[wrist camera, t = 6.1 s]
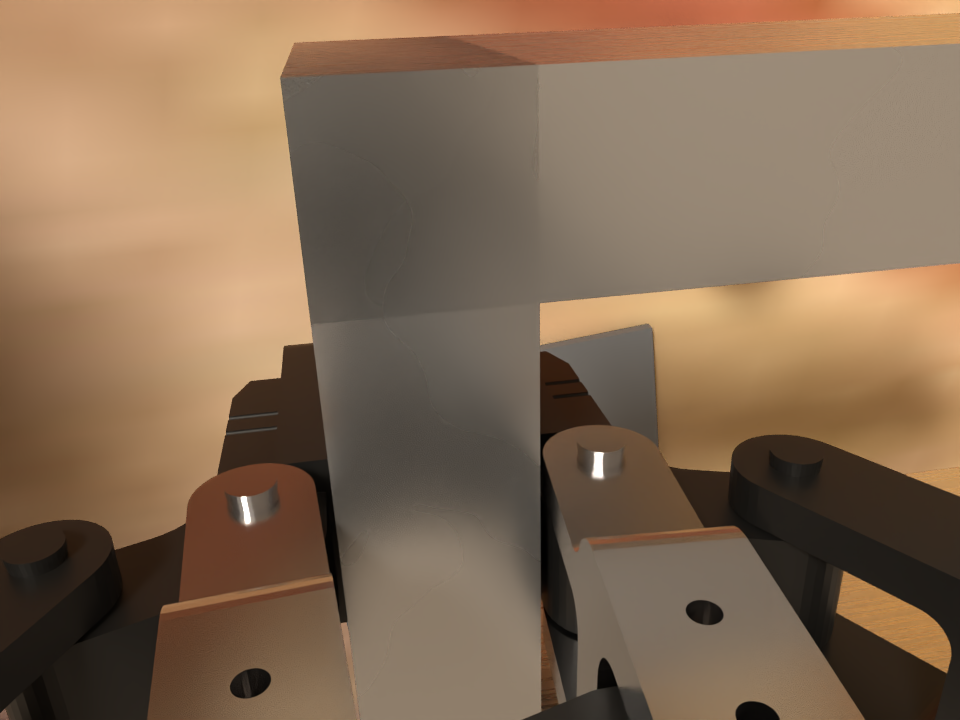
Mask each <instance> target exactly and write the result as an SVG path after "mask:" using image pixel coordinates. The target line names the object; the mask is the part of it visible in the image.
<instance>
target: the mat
mask: <svg viewBox="0 0 960 720" xmlns="http://www.w3.org/2000/svg"><path fill="white" fill-rule="evenodd" d="M543 351H547V352H549V353H551V354H552V355H554V356H556V357H558V358H560V359H562V360H564V361H565V362H567V363H569V364H570V366H571V367H572V369H573V370H574V372H575V373H576V375H577V376H578V378H579V380H580V382H582V383H583V385H584V386H585V388H586V389H587V391H588V394H589V395H591V396H592V398H593V399H594V401H595V402H596V404H597V405H598V407H599V408H600V409H601V411H602V412H603V414H604V415H605V417H606V418H607V420H608V421H609V422H610V424H611V425H612V426H615V427H621V428H625V429H629V430H632V431H635V432H637V433H639V434H641V435H643V436H645V437H647V438H648V439H650V440H651V441H652V442H653V443H654V444H655V445H656V446H657V448H658V429H657V410H656V391H655V372H654V353H653V334H652V327H651V326H650V325H649V324H644V325H640V326H635V327H630V328H625V329H620V330H615V331H610V332H605V333H600V334H595V335H590V336H585V337H580V338H575V339H570V340H565V341H560V342H555V343H550V344H545V345H540V352H543ZM658 449H659V448H658ZM347 625H348V622H347ZM348 629H349V626H348Z"/></svg>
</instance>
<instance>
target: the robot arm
mask: <svg viewBox="0 0 960 720" xmlns="http://www.w3.org/2000/svg"><path fill="white" fill-rule="evenodd" d="M540 526H541V600H542V602H543V639H544V644H545V648H546V652H547V657H548V661H549V665H550V669H551V674H552V678H553V682H554V687H555V691H556V695H557V699H558V704H559V705H556V706H554V707H551V708H549V709H547V710H544V711H542V712H539V713H537V714H534V715H532V716H530V717H527V718H525V719H522V720H960V496H957V495H955V494H952V493H950V492H947V491H945V490H942V489H940V488H937V487H935V486H932V485H929V484H927V483H924V482H922V481H919V480H917V479H914V478H912V477H909V476H907V475H904V474H902V473H899V472H897V471H894V470H892V469H889V468H887V467H884V466H882V465H879V464H877V463H874V462H872V461H869V460H867V459H864V458H861V457H859V456H856V455H854V454H851V453H849V452H846V451H844V450H841V449H839V448H836V447H834V446H831V445H829V444H826V443H823V442H820V441H817V440H814V439H810V438H805V437H800V436H792V435H765V436H759V437H755V438H751V439H748V440H746V441H744V442H742V443H741V444H739V445H738V446H737V447H736V448H735V449H734V451H733V454H732V461H731V470H730V472H716V471H700V470H687V469H678V468H673V467H669V466H668V464H667V463H666V461H665V459H664V458H663V456H662V454H661V452H660V451H659V449H658V448H657V446H656V445H655V444H654V443H653V442H652V441H651V440H650V439H648V438H647V437H645V436H643V435H641V434H639V433H637V432H635V431H632V430H629V429H625V428H621V427H615V426H612V425H611V424H610V422H609V421H608V420H607V418H606V417H605V415H604V414H603V412H602V411H601V409H600V408H599V407H598V405H597V404H596V402H595V401H594V399H593V398H592V396H591V395H589V394H588V391H587V389H586V388H585V386H584V385H583V383H582V382H580V380H579V378H578V376H577V375H576V373H575V372H574V370H573V369H572V367H571V366H570V364H569V363H567V362H565V361H564V360H562V359H560V358H558V357H556V356H554V355H552V354H551V353H549V352H547V351H543V352H540ZM844 571H845V572H847V573H849V574H851V575H853V576H855V577H857V578H859V579H861V580H863V581H865V582H867V583H869V584H871V585H873V586H875V587H877V588H878V589H880V590H882V591H884V592H886V593H888V594H890V595H892V596H894V597H896V598H898V599H900V600H902V601H904V602H906V603H908V604H910V605H912V606H914V607H916V608H918V609H920V610H922V611H923V612H925V613H926V614H928V615H929V616H930V617H932V618H933V619H934V620H935V621H936V622H937V623H938V624H939V625H940V627H941V628H942V629H943V631H944V632H945V634H946V636H947V638H948V640H949V643H950V646H951V660H950V664H949V668H948V671H947V673H945V672H943V671H942V670H940V669H938V668H936V667H934V666H933V665H931V664H929V663H927V662H925V661H923V660H922V659H920V658H918V657H916V656H914V655H912V654H911V653H909V652H907V651H905V650H903V649H902V648H900V647H898V646H896V645H894V644H892V643H891V642H889V641H887V640H885V639H883V638H881V637H880V636H878V635H876V634H874V633H872V632H871V631H869V630H867V629H865V628H863V627H861V626H860V625H858V624H856V623H854V622H852V621H850V620H849V619H847V618H845V617H843V616H841V615H839V614H838V613H836V611H837V605H838V600H839V594H840V589H841V583H842V578H843V572H844ZM343 622H348V618H347V610H346V602H345V594H344V586H343V578H342V570H341V562H340V554H339V546H338V538H337V530H336V522H335V514H334V506H333V498H332V490H331V482H330V474H329V466H328V458H327V449H326V441H325V433H324V425H323V417H322V409H321V401H320V393H319V385H318V377H317V369H316V361H315V353H314V345H313V343H309V344H299V345H288V346H284V350H283V362H282V373H281V378H277V379H267V380H257V381H250V382H249V383H248V384H247V385H246V386H245V387H244V388H243V389H242V390H241V391H240V392H239V393H238V394H237V395H236V396H235V397H234V398H233V399H232V404H231V409H230V414H229V420H228V424H227V429H226V435H225V439H224V444H223V449H222V454H221V459H220V464H219V469H218V474H217V476H215V477H213V478H211V479H210V480H208V481H206V482H205V483H203V484H202V485H201V486H200V487H199V488H197V490H196V491H195V492H194V493H193V494H192V496H191V498H190V499H189V502H188V506H187V517H186V524H184V525H182V526H180V527H178V528H177V529H175V530H173V531H170V532H168V533H166V534H164V535H161V536H158V537H155V538H152V539H149V540H146V541H143V542H140V543H137V544H133V545H130V546H127V547H124V548H121V549H118V550H115V549H114V545H113V541H112V538H111V536H110V534H109V532H108V531H107V530H106V529H105V528H104V527H102V526H100V525H98V524H96V523H92V522H89V521H82V520H61V521H53V522H47V523H42V524H38V525H34V526H31V527H28V528H25V529H22V530H19V531H17V532H14V533H12V534H9V535H7V536H5V537H3V538H1V539H0V713H1V712H2V711H3V710H4V709H6V712H7V715H8V718H9V720H357V717H356V711H355V705H354V700H353V694H352V688H351V682H350V676H349V670H348V664H347V659H346V653H345V647H344V641H343V635H342V629H341V623H343Z"/></svg>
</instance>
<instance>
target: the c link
mask: <svg viewBox="0 0 960 720" xmlns="http://www.w3.org/2000/svg"><path fill="white" fill-rule="evenodd" d="M280 80H281V88H282V96H283V104H284V112H285V120H286V128H287V136H288V144H289V152H290V160H291V168H292V176H293V184H294V192H295V200H296V208H297V216H298V224H299V232H300V240H301V248H302V256H303V265H304V273H305V281H306V289H307V297H308V305H309V313H310V321H311V329H312V337H313V345H314V353H315V361H316V369H317V377H318V385H319V393H320V401H321V409H322V417H323V425H324V433H325V441H326V449H327V458H328V466H329V474H330V482H331V490H332V498H333V506H334V514H335V522H336V530H337V538H338V546H339V554H340V562H341V570H342V578H343V586H344V594H345V602H346V610H347V618H348V626H349V634H350V642H351V651H352V659H353V667H354V675H355V683H356V691H357V699H358V707H359V715H360V720H522V719H525V718H527V717H530V716H532V715H534V714H537V713H539V712H542V711H544V710H547V709H549V708H551V707H554V706H556V705H559V704H558V699H557V695H556V691H555V687H554V682H553V678H552V674H551V669H550V665H549V661H548V657H547V652H546V648H545V644H544V639H543V602H542V600H541V526H540V303H546V302H557V301H567V300H578V299H588V298H599V297H609V296H620V295H630V294H641V293H651V292H662V291H672V290H683V289H693V288H704V287H714V286H725V285H735V284H746V283H757V282H767V281H778V280H788V279H799V278H809V277H820V276H830V275H841V274H851V273H862V272H872V271H883V270H893V269H904V268H914V267H925V266H935V265H946V264H956V263H960V13H953V14H931V15H908V16H886V17H863V18H841V19H819V20H796V21H774V22H751V23H729V24H706V25H684V26H661V27H639V28H616V29H594V30H572V31H549V32H527V33H504V34H482V35H459V36H437V37H414V38H392V39H369V40H347V41H325V42H302V43H294V45H293V48H292V50H291V52H290V55H289V57H288V60H287V62H286V65H285V67H284V70H283V72H282V75H281V77H280ZM905 475H907V476H909V477H912V478H914V479H917V480H919V481H922V482H924V483H927V484H929V485H932V486H935V487H937V488H940V489H942V490H945V491H947V492H950V493H952V494H955V495H957V496H960V467H956V468H949V469H941V470H934V471H927V472H919V473H912V474H905ZM836 613H838V614H839V615H841V616H843V617H845V618H847V619H849V620H850V621H852V622H854V623H856V624H858V625H860V626H861V627H863V628H865V629H867V630H869V631H871V632H872V633H874V634H876V635H878V636H880V637H881V638H883V639H885V640H887V641H889V642H891V643H892V644H894V645H896V646H898V647H900V648H902V649H903V650H905V651H907V652H909V653H911V654H912V655H914V656H916V657H918V658H920V659H922V660H923V661H925V662H927V663H929V664H931V665H933V666H934V667H936V668H938V669H940V670H942V671H943V672H945V673H947V671H948V668H949V664H950V660H951V646H950V643H949V640H948V638H947V636H946V634H945V632H944V631H943V629H942V628H941V627H940V625H939V624H938V623H937V622H936V621H935V620H934V619H933V618H932V617H930V616H929V615H928V614H926V613H925V612H923V611H922V610H920V609H918V608H916V607H914V606H912V605H910V604H908V603H906V602H904V601H902V600H900V599H898V598H896V597H894V596H892V595H890V594H888V593H886V592H884V591H882V590H880V589H878V588H877V587H875V586H873V585H871V584H869V583H867V582H865V581H863V580H861V579H859V578H857V577H855V576H853V575H851V574H849V573H847V572H845V571H844V572H843V578H842V583H841V589H840V594H839V600H838V605H837V611H836Z"/></svg>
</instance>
